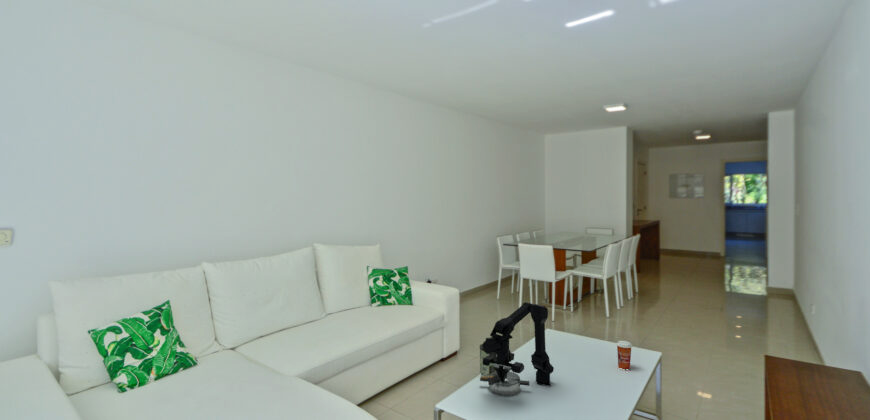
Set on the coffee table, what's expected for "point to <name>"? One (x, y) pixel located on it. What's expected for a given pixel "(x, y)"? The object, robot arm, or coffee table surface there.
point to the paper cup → (624, 354)
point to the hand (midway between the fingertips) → (503, 382)
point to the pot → (505, 388)
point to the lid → (510, 379)
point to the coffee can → (483, 368)
